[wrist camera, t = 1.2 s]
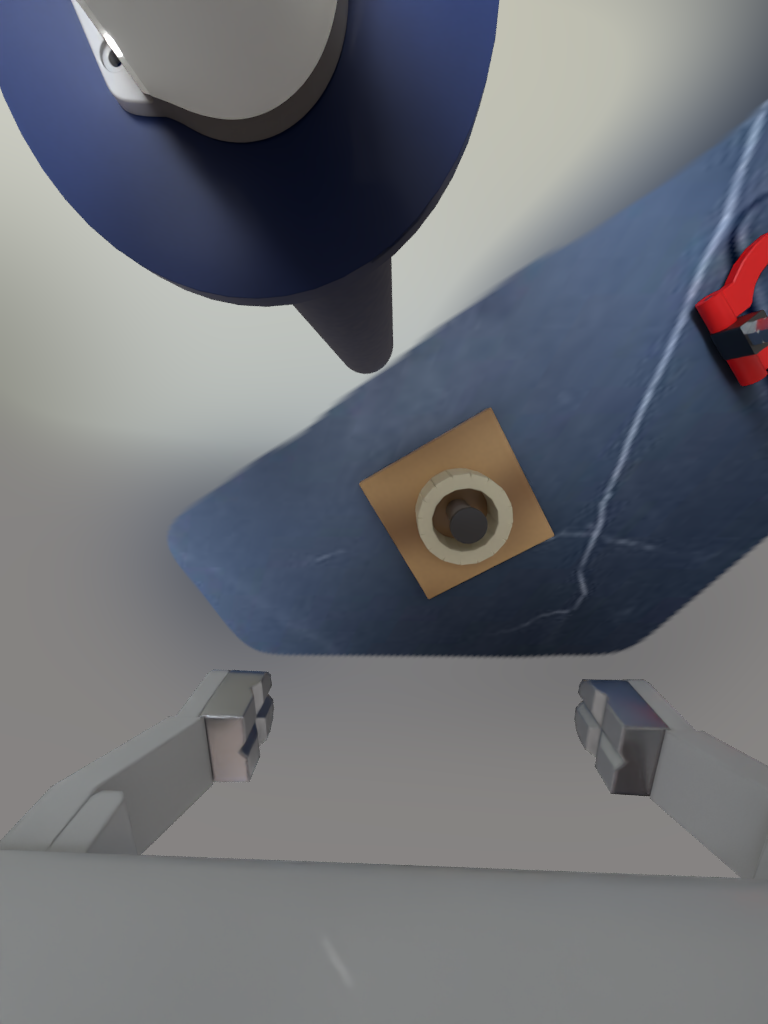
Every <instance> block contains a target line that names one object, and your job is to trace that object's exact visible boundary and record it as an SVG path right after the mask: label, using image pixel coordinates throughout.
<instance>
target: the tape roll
mask: <svg viewBox="0 0 768 1024" xmlns="http://www.w3.org/2000/svg"><path fill="white" fill-rule="evenodd" d="M431 479H432V480H431ZM431 479H430V480H429V481H428V482H427V483H426V485H425V486H424V487H423V488H422V490H421V493H419V496H418V499H417V503H416V506H415V507H416V508H415V512H416V520H417V526H418V531H419V534H420V537H421V539H422V541H423V542H424V544H425V546H426V547H427V549H429V551H430V552H431V553H432V554H434V555H435V556H436V557H438V558H439V559H441V560H443V561H445V562H449V563H453V564H457V565H459V564H460V565H467V564H476V563H477V561H478V563H480V562H481V561H483V560H485V559H487V558H489V557H491V556H493V555H494V554H495V553H496V552H497V551H498V550H499V549H500V548H501V547H502V546H503V545H504V543H505V542H506V541H505V540H507V539H508V536H509V533H510V531H511V528H512V524H511V523H513V512H512V506H511V505H512V504H511V502H510V501H509V499H508V497H507V495H506V493H505V491H504V490H503V489H502V488H501V487H500V486H499V485H497V484H496V483H495V482H494V481H492V480H491V479H490V478H488V477H486V476H485V475H483V474H482V473H479V472H477V471H474V470H470V469H466V468H456V469H448V470H446V471H445V470H444V471H443V472H441V473H439V474H437V475H435V476H434V477H432V478H431ZM468 488H470V489H474V490H477V491H481V492H482V493H483V495H484V497H485V499H486V501H487V510H488V513H487V516H486V519H487V523H488V528H487V531H486V534H485V535H484V537H483V538H482V539H480V540H479V541H477V542H475V543H471V544H465V543H461V542H459V541H457V540H456V539H454V538H450V537H447V536H444V535H442V534H441V533H440V532H438V531H437V530H436V529H435V528H434V526H433V522H432V517H433V514H434V511H435V508H436V506H437V504H438V503H439V502H440V501H441V499H442V498H443V497H444V496H446V495H448V494H449V493H451V492H453V491H455V490H460V489H468ZM493 553H494V554H493Z"/></svg>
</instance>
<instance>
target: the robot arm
mask: <svg viewBox="0 0 768 1024" xmlns="http://www.w3.org/2000/svg"><path fill="white" fill-rule="evenodd" d="M71 1H72V4H73V6H74V9H75V11H76V13H77V16H78V18H79V20H80V23H81V25H82V28H83V30H84V32H85V35H86V37H87V39H88V42H89V44H90V47H91V49H92V51H93V54H94V56H95V58H96V61H97V63H98V66H99V68H100V70H101V73H102V75H103V77H104V80H105V82H106V84H107V86H108V88H109V90H110V92H111V93H112V95H113V96H114V97H115V99H116V100H117V101H118V103H119V104H120V106H121V107H122V108H123V109H124V110H126V111H127V112H129V113H131V114H135V115H139V116H150V117H168V118H171V119H174V120H176V121H178V122H180V123H182V124H184V125H186V126H187V127H189V128H191V129H193V130H195V131H196V132H198V133H201V134H203V135H205V136H208V137H210V138H213V139H217V140H221V141H226V142H235V143H246V142H255V141H260V140H264V139H267V138H270V137H272V136H275V135H277V134H279V133H281V132H283V131H285V130H287V129H288V128H290V127H291V126H293V125H294V124H295V123H297V122H298V121H299V120H300V119H301V118H303V117H304V116H305V115H306V114H307V113H308V112H309V111H310V109H311V108H312V107H313V106H314V105H315V103H316V102H317V101H318V99H319V98H320V97H321V95H322V94H323V92H324V91H325V89H326V87H327V85H328V83H329V82H330V80H331V77H332V75H333V73H334V71H335V68H336V66H337V63H338V60H339V57H340V54H341V51H342V46H343V42H344V37H345V32H346V25H347V16H348V0H71ZM119 62H121V63H122V64H121V65H120V66H119V67H117V66H118V63H119ZM271 686H272V682H271V674H269V672H261V671H240V670H232V671H231V670H212V671H210V672H209V673H208V674H207V675H206V676H205V678H204V679H203V680H202V682H201V683H200V685H199V686H198V687H197V688H196V690H195V691H194V693H193V694H192V695H191V696H190V698H189V699H188V700H187V702H186V703H185V705H184V706H183V707H182V708H181V710H180V711H179V713H178V714H177V715H176V716H175V717H173V716H172V717H170V716H169V717H168V718H166V719H164V720H163V721H161V722H159V723H158V724H156V725H154V726H152V727H151V728H149V729H147V730H146V731H144V732H142V733H141V734H139V735H137V736H136V737H134V738H132V739H131V740H129V741H127V742H126V743H124V744H122V745H120V746H119V747H117V748H115V749H114V750H112V751H110V752H109V753H107V754H105V755H104V756H102V757H101V758H98V759H97V760H95V761H93V762H92V763H90V764H88V765H87V766H85V767H83V768H82V769H80V770H78V771H77V772H75V773H73V774H71V775H70V776H68V777H66V778H65V779H63V780H62V781H60V782H58V783H56V784H55V785H53V786H52V787H51V788H50V789H49V790H48V791H47V792H46V793H45V794H44V795H43V796H42V797H41V798H40V799H39V800H38V801H37V802H36V803H35V805H34V806H33V807H32V808H31V809H30V810H29V811H28V812H27V813H26V814H25V815H24V816H23V817H22V818H21V819H20V821H18V822H17V824H16V825H15V826H14V827H13V828H12V829H11V830H10V831H9V832H8V833H7V834H6V835H5V836H4V837H3V838H2V840H0V1024H768V766H767V765H765V764H763V763H761V762H759V761H757V760H756V759H754V758H752V757H750V756H748V755H746V754H745V753H742V752H741V751H739V750H737V749H735V748H734V747H732V746H730V745H728V744H726V743H724V742H722V741H720V740H719V739H717V738H715V737H713V736H711V735H710V734H708V733H706V732H704V731H696V730H695V729H694V728H693V727H692V726H691V725H690V724H689V723H688V722H687V721H686V720H685V719H684V718H683V717H682V716H681V715H680V714H679V713H678V712H677V711H676V710H675V709H674V708H673V707H672V706H671V705H670V704H669V702H668V701H667V700H665V698H664V697H662V695H661V694H660V693H659V692H658V691H657V690H656V689H655V688H654V687H653V686H652V685H651V684H650V683H649V682H647V681H645V680H585V679H583V680H582V682H581V683H580V686H579V691H578V693H579V695H580V696H581V698H582V699H583V701H582V702H581V703H580V704H579V705H578V706H577V707H576V710H575V725H576V731H577V734H578V737H579V739H580V741H581V743H582V745H583V747H584V748H585V750H587V751H588V752H589V753H590V754H592V755H593V756H595V757H596V762H595V767H596V769H597V771H598V773H599V774H600V776H601V778H602V779H603V781H604V783H605V785H606V786H607V788H608V790H609V791H610V793H611V794H623V795H639V796H650V799H651V800H652V801H654V802H655V803H656V804H657V805H658V806H659V807H660V808H661V809H663V810H664V811H665V812H666V813H667V814H668V815H670V816H671V817H672V818H673V819H674V820H675V821H676V822H678V823H679V824H680V825H681V826H682V827H683V828H685V829H686V830H687V831H688V832H689V833H690V834H691V835H692V836H694V837H695V838H696V839H697V840H698V841H699V842H700V843H702V844H703V845H704V846H705V847H706V848H707V849H709V850H710V851H711V852H712V853H713V854H714V855H715V856H717V857H718V858H719V859H720V860H721V861H722V862H723V863H725V864H726V865H727V866H728V867H729V868H730V869H731V870H733V871H734V872H735V873H736V874H737V875H738V876H740V877H741V878H722V877H696V876H672V875H647V874H645V875H644V874H619V873H595V872H568V871H543V870H517V869H492V868H491V869H490V868H465V867H439V866H413V865H389V864H363V863H337V862H311V861H285V860H259V859H233V858H207V857H182V856H156V855H141V854H142V853H143V852H144V851H145V850H146V849H147V848H148V847H149V846H150V845H151V844H152V843H153V842H154V841H155V840H157V839H158V838H159V837H160V836H161V835H162V834H163V833H164V832H165V831H166V830H167V829H168V828H169V827H170V826H171V825H172V824H173V823H174V822H175V821H176V820H177V819H178V818H179V817H180V816H181V815H182V814H183V813H184V812H185V811H186V810H187V809H188V808H189V807H190V806H192V805H193V804H194V802H196V801H197V800H198V799H199V798H200V797H201V796H202V795H203V794H204V793H205V792H206V791H207V790H208V789H209V788H210V787H211V786H212V785H213V782H250V779H251V777H252V775H253V772H254V770H255V767H256V765H257V763H258V760H259V758H260V750H259V746H260V745H261V744H263V743H264V742H265V741H266V740H267V738H268V735H269V733H270V730H271V725H272V721H273V711H274V705H273V699H272V698H271V697H270V696H269V694H268V693H269V690H270V688H271Z"/></svg>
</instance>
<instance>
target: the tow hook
mask: <svg viewBox="0 0 768 1024" xmlns="http://www.w3.org/2000/svg"><path fill="white" fill-rule="evenodd" d="M767 264H768V232H767V233H766V234H764V235H762V236H760V237H759V238H758V239H757V240H756V241H754V242H753V243H752V244H751V245H750V246H749V247H747V248H746V249H745V250H744V252H743V253H742V254H741V256H740V257H739V258H738V260H737V261H736V262H735V264H734V265H733V267H732V269H731V271H730V273H729V276H728V278H727V280H726V282H725V285H724V286H723V287H722V288H721V289H720V290H718V291H716V292H713V293H711V294H710V295H708V296H706V297H705V298H703V299H702V300H700V301H699V302H698V303H697V304H696V305H695V307H696V309H697V310H698V312H699V314H700V316H701V317H702V319H703V321H704V323H705V324H706V326H707V328H708V330H709V331H710V337H711V339H712V341H713V342H714V344H715V346H716V348H717V349H718V351H719V353H720V355H721V356H722V358H723V359H724V360H726V361H727V363H728V364H729V366H730V368H731V370H732V371H733V373H734V375H735V377H736V378H737V380H738V382H739V384H740V385H741V386H747V385H750V384H753V383H755V382H758V381H760V380H761V379H763V378H764V377H765V376H766V375H767V371H766V369H767V368H768V317H767V315H766V313H765V311H764V310H760V311H757V312H754V313H751V314H748V315H744V316H741V317H738V318H737V316H739V315H740V314H741V313H743V312H744V311H745V310H746V309H748V308H749V307H750V306H751V304H752V296H753V292H754V288H755V284H756V282H757V280H758V278H759V276H760V274H761V272H762V271H763V269H764V268H765V267H766V265H767Z"/></svg>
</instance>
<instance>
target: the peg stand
mask: <svg viewBox="0 0 768 1024" xmlns="http://www.w3.org/2000/svg"><path fill="white" fill-rule="evenodd" d="M456 468H466V469H470V470H474V471H477V472H479V473H482V474H483V475H485V476H486V477H488V478H490V479H491V480H492V481H494V482H495V483H496V484H497V485H499V486H500V487H501V488H502V489H503V490H504V491H505V493H506V495H507V497H508V499H509V501H510V502H511V504H512V505H511V506H512V512H513V523H511V524H512V528H511V531H510V533H509V536H508V539H507V540H505V541H506V542H505V543H504V545H503V546H502V547H501V548H500V549H499V550H498V551H497V552H496V553H495V554H494V553H493V554H494V555H493V556H491V557H489V558H487V559H485V560H483V561H481V562H480V563H478V561H477V563H476V564H467V565H460V564H459V565H457V564H453V563H449V562H445V561H443V560H441V559H439V558H438V557H436V556H435V555H434V554H432V553H431V552H430V551H429V549H427V547H426V546H425V544H424V542H423V541H422V539H421V537H420V534H419V531H418V526H417V520H416V512H415V508H416V507H415V506H416V503H417V499H418V496H419V493H421V490H422V488H423V487H424V486H425V485H426V483H427V482H428V481H429V480H430V479H431V478H432V477H434V476H435V475H437V474H439V473H441V472H443V471H444V470H445V471H446V470H448V469H456ZM431 480H432V479H431ZM359 485H360V487H361V489H362V490H363V492H364V494H365V495H366V497H367V498H368V500H369V502H370V503H371V505H372V507H373V508H374V510H375V512H376V513H377V515H378V517H379V518H380V520H381V522H382V523H383V525H384V527H385V528H386V530H387V532H388V533H389V535H390V536H391V538H392V540H393V541H394V543H395V545H396V546H397V548H398V550H399V551H400V553H401V555H402V556H403V558H404V560H405V561H406V563H407V565H408V566H409V568H410V570H411V571H412V573H413V574H414V576H415V578H416V579H417V581H418V583H419V584H420V586H421V588H422V589H423V591H424V593H425V594H426V596H427V598H428V599H431V598H433V597H435V596H437V595H439V594H441V593H443V592H444V591H446V590H448V589H450V588H452V587H454V586H456V585H458V584H460V583H462V582H464V581H466V580H468V579H470V578H472V577H474V576H476V575H478V574H480V573H482V572H484V571H486V570H488V569H490V568H492V567H494V566H496V565H498V564H500V563H502V562H504V561H506V560H508V559H510V558H512V557H514V556H516V555H518V554H519V553H521V552H523V551H525V550H527V549H529V548H531V547H533V546H535V545H537V544H539V543H541V542H543V541H545V540H547V539H549V538H551V537H553V536H554V533H553V531H552V529H551V527H550V525H549V523H548V521H547V519H546V517H545V515H544V513H543V511H542V509H541V507H540V505H539V503H538V501H537V499H536V497H535V495H534V493H533V491H532V489H531V487H530V485H529V483H528V481H527V479H526V477H525V475H524V473H523V471H522V469H521V467H520V465H519V463H518V461H517V459H516V457H515V455H514V453H513V451H512V449H511V447H510V445H509V443H508V441H507V439H506V437H505V435H504V432H503V430H502V428H501V426H500V424H499V422H498V420H497V418H496V416H495V414H494V412H493V410H492V408H487V409H485V410H483V411H481V412H480V413H478V414H476V415H474V416H473V417H471V418H469V419H468V420H466V421H464V422H462V423H461V424H459V425H457V426H456V427H454V428H452V429H450V430H449V431H447V432H445V433H443V434H442V435H440V436H438V437H437V438H435V439H433V440H431V441H430V442H428V443H426V444H424V445H423V446H421V447H419V448H418V449H416V450H414V451H412V452H411V453H409V454H407V455H406V456H404V457H402V458H400V459H399V460H397V461H395V462H393V463H392V464H390V465H388V466H387V467H385V468H383V469H381V470H380V471H378V472H376V473H375V474H373V475H371V476H369V477H368V478H366V479H364V480H362V481H361V482H360V483H359ZM487 513H488V510H487V501H486V499H485V497H484V495H483V493H482V492H481V491H477V490H474V489H470V488H468V489H460V490H455V491H453V492H451V493H449V494H448V495H446V496H444V497H443V498H442V499H441V501H440V502H439V503H438V504H437V506H436V508H435V511H434V514H433V517H432V522H433V526H434V528H435V529H436V530H437V531H438V532H440V533H441V534H442V535H444V536H447V537H450V538H454V539H456V540H457V541H459V542H461V543H465V544H471V543H475V542H477V541H479V540H480V539H482V538H483V537H484V535H485V534H486V531H487V528H488V523H487V519H486V516H487Z"/></svg>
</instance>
